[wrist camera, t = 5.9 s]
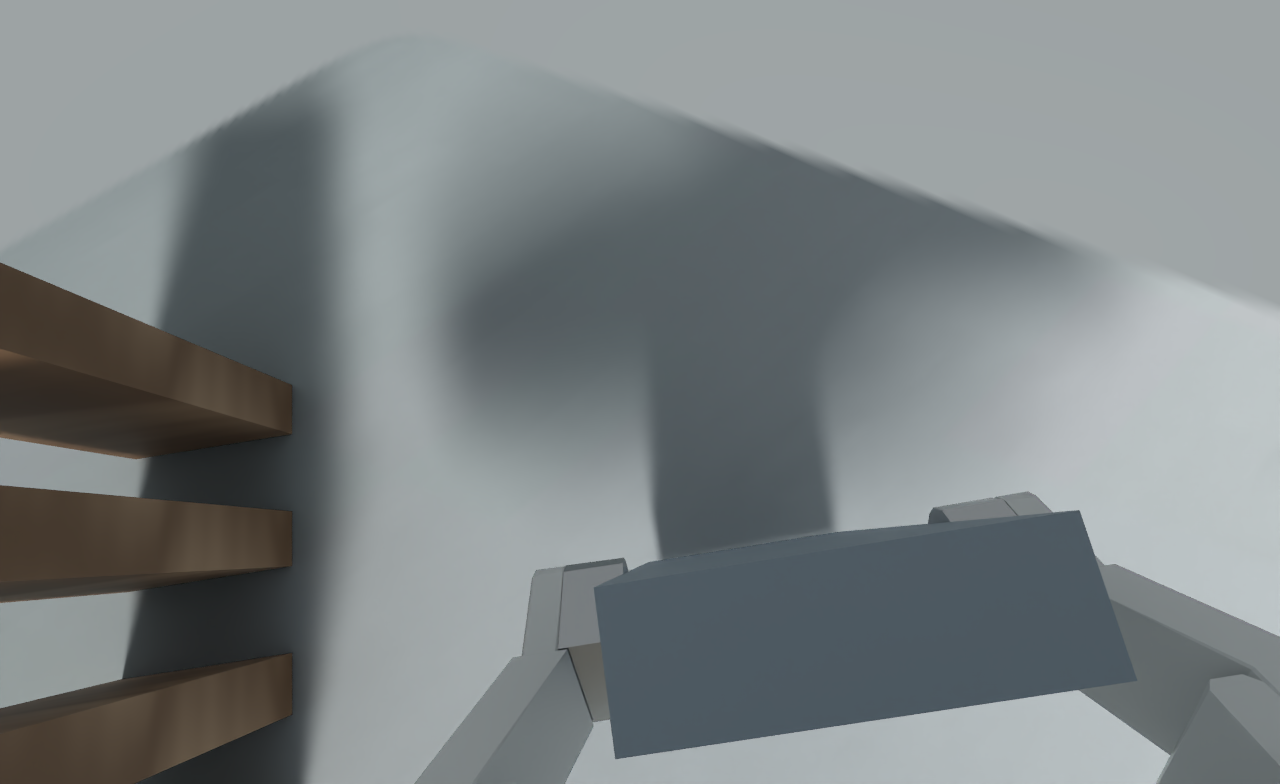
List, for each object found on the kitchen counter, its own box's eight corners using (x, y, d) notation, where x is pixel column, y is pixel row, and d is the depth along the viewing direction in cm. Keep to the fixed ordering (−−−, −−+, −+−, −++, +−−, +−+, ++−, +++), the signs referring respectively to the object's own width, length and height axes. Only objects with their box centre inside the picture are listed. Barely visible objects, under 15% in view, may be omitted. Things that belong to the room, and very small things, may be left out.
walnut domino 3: (121, 679, 17) (-604, 853, 7) (292, 652, 17) (-217, 793, 7) (117, 741, 17) (-657, 1011, 7) (292, 714, 17) (-247, 949, 7)
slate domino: (649, 562, 16) (593, 587, 6) (836, 532, 16) (1078, 509, 6) (658, 625, 15) (615, 759, 6) (851, 595, 15) (1137, 681, 6)
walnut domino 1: (139, 409, 19) (-411, 270, 9) (292, 385, 19) (-105, 218, 9) (135, 459, 19) (-443, 366, 9) (292, 434, 19) (-122, 313, 9)
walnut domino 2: (130, 536, 18) (-497, 527, 8) (292, 511, 18) (-153, 471, 8) (127, 591, 18) (-537, 648, 8) (292, 566, 18) (-176, 590, 8)
